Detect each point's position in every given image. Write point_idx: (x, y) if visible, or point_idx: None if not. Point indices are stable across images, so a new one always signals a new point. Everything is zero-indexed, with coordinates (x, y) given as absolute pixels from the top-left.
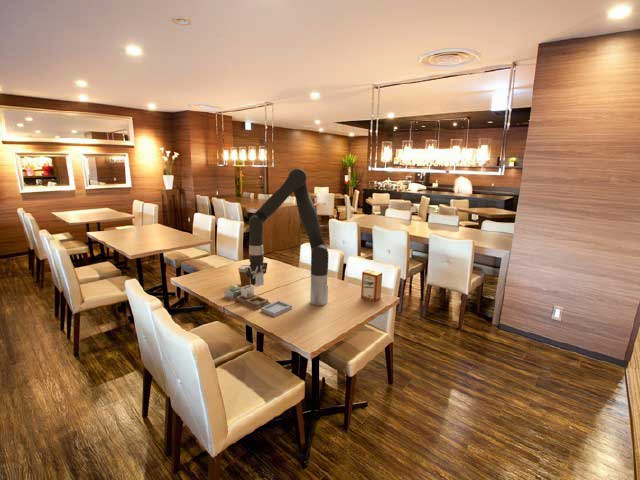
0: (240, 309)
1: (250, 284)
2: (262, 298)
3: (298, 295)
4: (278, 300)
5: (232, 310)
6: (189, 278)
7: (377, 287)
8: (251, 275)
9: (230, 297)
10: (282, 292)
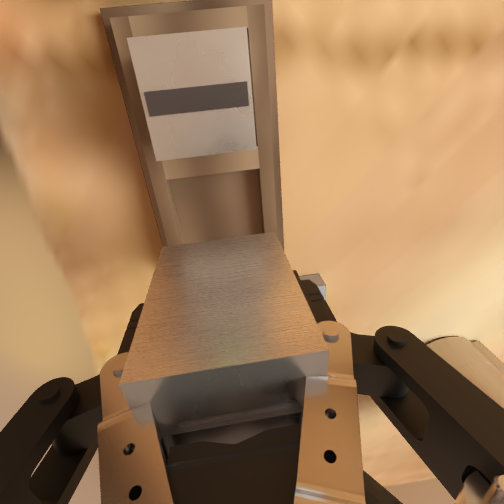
0: (87, 197)
1: (162, 252)
2: (267, 216)
3: (473, 255)
4: (322, 287)
5: (27, 174)
6: None
7: None
8: (84, 470)
9: None
10: (475, 152)
